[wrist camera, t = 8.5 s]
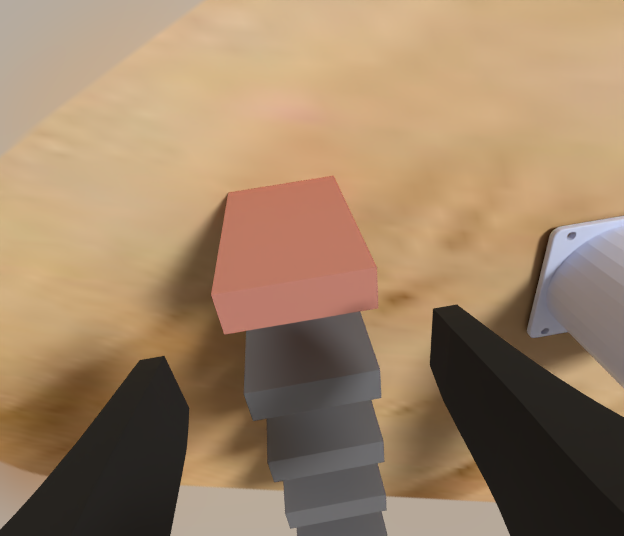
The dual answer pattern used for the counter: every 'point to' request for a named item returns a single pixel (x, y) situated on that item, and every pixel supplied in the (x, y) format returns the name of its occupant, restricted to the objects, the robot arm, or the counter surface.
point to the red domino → (291, 257)
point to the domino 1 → (309, 366)
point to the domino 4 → (347, 527)
